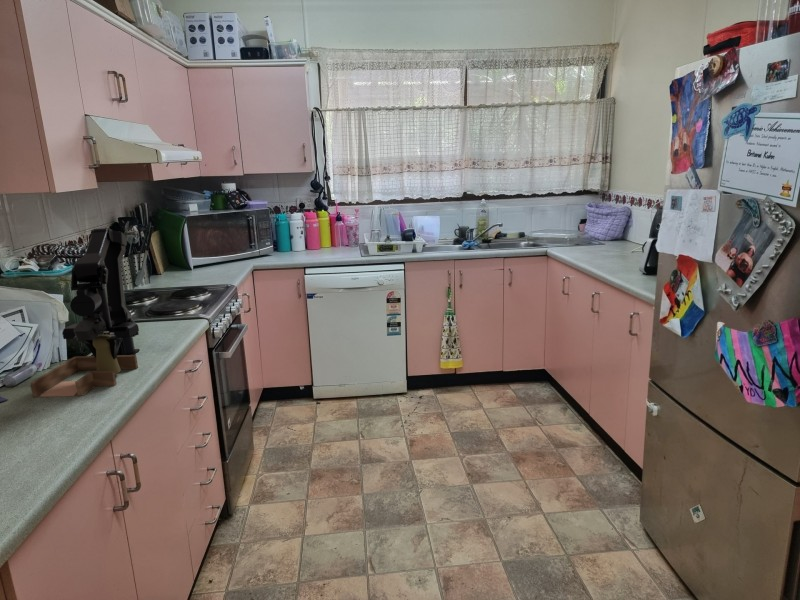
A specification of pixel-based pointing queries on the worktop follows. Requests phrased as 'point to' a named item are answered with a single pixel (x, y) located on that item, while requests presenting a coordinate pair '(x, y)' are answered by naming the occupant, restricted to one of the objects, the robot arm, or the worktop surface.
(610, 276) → the worktop surface
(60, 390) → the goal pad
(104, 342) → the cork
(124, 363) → the bent channel
